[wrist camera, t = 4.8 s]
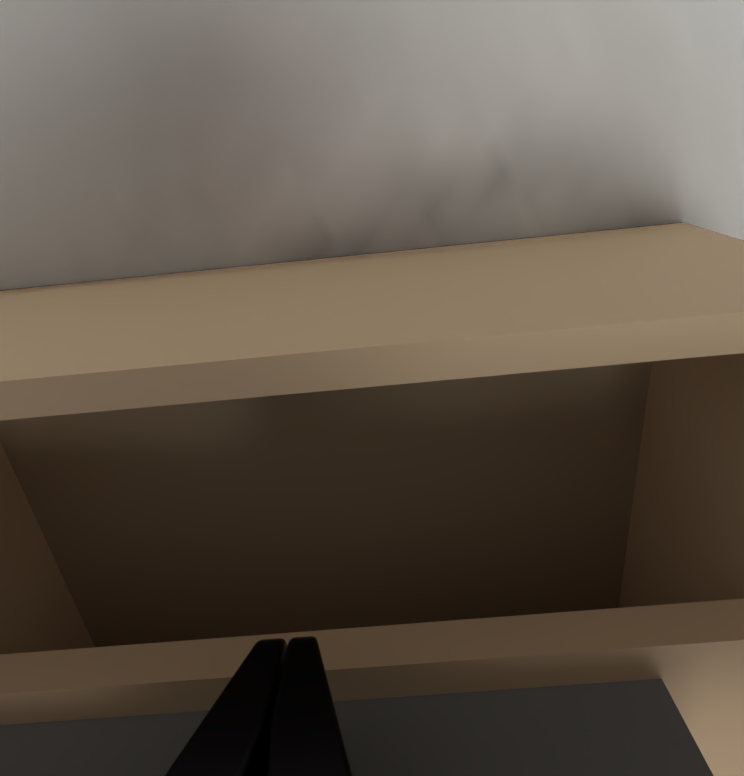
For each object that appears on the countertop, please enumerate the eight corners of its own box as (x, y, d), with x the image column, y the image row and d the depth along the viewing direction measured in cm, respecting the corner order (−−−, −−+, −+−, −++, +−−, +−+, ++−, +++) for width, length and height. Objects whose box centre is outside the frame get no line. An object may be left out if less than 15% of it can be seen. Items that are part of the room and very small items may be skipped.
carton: (683, 222, 13) (924, 294, 7) (615, 681, 19) (711, 895, 14) (-70, 297, 13) (-375, 416, 8) (124, 716, 20) (34, 933, 15)
